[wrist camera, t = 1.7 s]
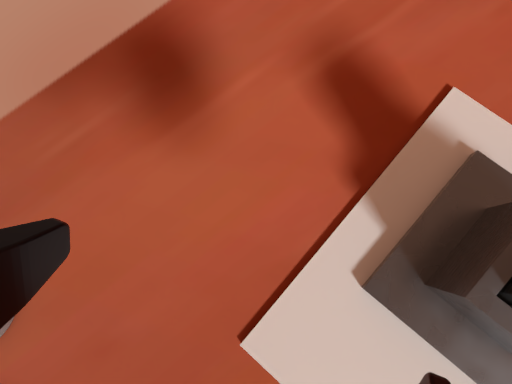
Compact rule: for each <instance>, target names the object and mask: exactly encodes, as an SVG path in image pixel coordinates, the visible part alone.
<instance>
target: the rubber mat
mask: <svg viewBox="0 0 512 384" xmlns="http://www.w3.org/2000/svg"><path fill="white" fill-rule="evenodd" d="M477 150H478V151H480V152H481V153H482V154H484V155H485V156H487V157H488V158H490V159H491V160H493V161H494V162H495V163H497V164H498V165H500V166H501V167H503V168H504V169H506V170H507V171H508V172H510V173H511V174H512V125H511V124H509V123H508V122H506V121H505V120H503V119H502V118H500V117H499V116H497V115H496V114H494V113H493V112H491V111H490V110H488V109H487V108H485V107H484V106H482V105H481V104H479V103H478V102H476V101H475V100H473V99H472V98H470V97H469V96H467V95H466V94H464V93H463V92H461V91H460V90H458V89H457V88H455V87H453V89H452V90H451V91H450V92H449V93H448V95H447V96H446V97H445V98H444V99H443V101H442V102H441V103H440V104H439V105H438V107H437V108H436V109H435V110H434V111H433V113H432V114H431V115H430V116H429V117H428V119H427V120H426V121H425V122H424V123H423V125H422V126H421V127H420V128H419V130H418V131H417V132H416V133H415V134H414V136H413V137H412V138H411V139H410V140H409V142H408V143H407V144H406V145H405V146H404V148H403V149H402V150H401V151H400V152H399V154H398V155H397V156H396V157H395V158H394V160H393V161H392V162H391V163H390V164H389V166H388V167H387V168H386V169H385V171H384V172H383V173H382V174H381V175H380V177H379V178H378V179H377V180H376V181H375V183H374V184H373V185H372V186H371V187H370V189H369V190H368V191H367V192H366V193H365V195H364V196H363V197H362V198H361V199H360V201H359V202H358V203H357V204H356V205H355V207H354V208H353V209H352V210H351V212H350V213H349V214H348V215H347V216H346V218H345V219H344V220H343V221H342V222H341V224H340V225H339V226H338V227H337V228H336V230H335V231H334V232H333V233H332V234H331V236H330V237H329V238H328V239H327V240H326V242H325V243H324V244H323V245H322V246H321V248H320V249H319V250H318V251H317V253H316V254H315V255H314V256H313V257H312V259H311V260H310V261H309V262H308V263H307V265H306V266H305V267H304V268H303V269H302V271H301V272H300V273H299V274H298V275H297V277H296V278H295V279H294V280H293V281H292V283H291V284H290V285H289V286H288V287H287V289H286V290H285V291H284V292H283V294H282V295H281V296H280V297H279V298H278V300H277V301H276V302H275V303H274V304H273V306H272V307H271V308H270V309H269V310H268V312H267V313H266V314H265V315H264V316H263V318H262V319H261V320H260V321H259V322H258V324H257V325H256V326H255V327H254V328H253V330H252V331H251V332H250V333H249V335H248V336H247V337H246V338H245V339H244V341H243V342H242V343H241V344H240V346H241V347H242V348H243V349H244V350H245V351H247V352H248V353H249V354H250V355H251V356H252V357H253V358H254V359H255V360H256V361H257V362H258V363H259V364H260V365H261V366H262V367H263V368H265V369H266V370H267V371H268V372H269V373H270V374H271V375H272V376H273V377H274V378H275V379H276V380H277V381H278V382H279V383H280V384H419V383H420V381H421V380H422V378H423V377H424V375H425V374H426V373H428V372H432V373H434V374H437V375H439V376H442V377H444V378H446V379H448V380H449V381H450V383H451V384H477V383H476V382H474V381H473V380H472V379H471V378H470V377H468V376H467V375H466V374H465V373H464V372H462V371H461V370H460V369H459V368H458V367H456V366H455V365H454V364H453V363H452V362H450V361H449V360H448V359H447V358H446V357H444V356H443V355H442V354H441V353H440V352H438V351H437V350H436V349H435V348H434V347H432V346H431V345H430V344H429V343H428V342H426V341H425V340H424V339H423V338H422V337H420V336H419V335H418V334H417V333H416V332H414V331H413V330H412V329H411V328H410V327H408V326H407V325H406V324H405V323H404V322H402V321H401V320H400V319H399V318H398V317H396V316H395V315H394V314H393V313H392V312H390V311H389V310H388V309H387V308H386V307H384V306H383V305H382V304H381V303H380V302H378V301H377V300H376V299H375V298H374V297H372V296H371V295H370V294H369V293H368V292H366V291H365V290H364V289H363V288H362V285H363V284H364V283H365V282H366V280H367V279H368V278H369V277H370V276H371V274H372V273H373V272H374V271H375V270H376V268H377V267H378V266H379V265H380V263H381V262H382V261H383V260H384V259H385V257H386V256H387V255H388V254H389V253H390V251H391V250H392V249H393V248H394V247H395V245H396V244H397V243H398V242H399V240H400V239H401V238H402V237H403V236H404V234H405V233H406V232H407V231H408V230H409V228H410V227H411V226H412V225H413V224H414V222H415V221H416V220H417V219H418V217H419V216H420V215H421V214H422V213H423V211H424V210H425V209H426V208H427V207H428V205H429V204H430V203H431V202H432V201H433V199H434V198H435V197H436V196H437V194H438V193H439V192H440V191H441V190H442V188H443V187H444V186H445V185H446V184H447V182H448V181H449V180H450V179H451V178H452V176H453V175H454V174H455V173H456V171H457V170H458V169H459V168H460V167H461V165H462V164H463V163H464V162H465V161H466V159H467V158H468V157H469V156H470V154H472V153H474V152H475V151H477Z"/></svg>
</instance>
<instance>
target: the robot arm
mask: <svg viewBox="0 0 512 384" xmlns="http://www.w3.org/2000/svg"><path fill="white" fill-rule="evenodd" d="M69 252H70V229H69V226H68V224H67V223H65V222H63V221H60V220H58V219H55V218H50V219H45V220H41V221H36V222H31V223H27V224H22V225H17V226H13V227H8V228H3V229H0V329H1V328H2V327H3V326H4V325H5V324H7V323H8V322H9V321H10V320H11V319H12V318H13V317H14V316H15V315H16V314H17V313H18V312H19V311H20V310H21V309H22V308H23V307H24V306H25V305H26V304H27V303H28V302H29V301H30V300H31V298H32V297H33V296H34V295H35V294H36V293H37V292H38V290H39V289H40V288H41V287H42V286H43V285H44V283H45V282H46V281H47V280H48V279H49V278H50V277H51V275H52V274H53V273H54V272H55V271H56V270H57V268H58V267H59V266H60V265H61V264H62V263H63V261H64V260H65V259H66V258H67V256H68V254H69ZM419 384H451V383H450V381H449V380H448V379H446V378H444V377H442V376H439V375H437V374H434V373H432V372H428V373H426V374H425V375H424V377H423V378H422V380H421V381H420V383H419Z"/></svg>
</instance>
